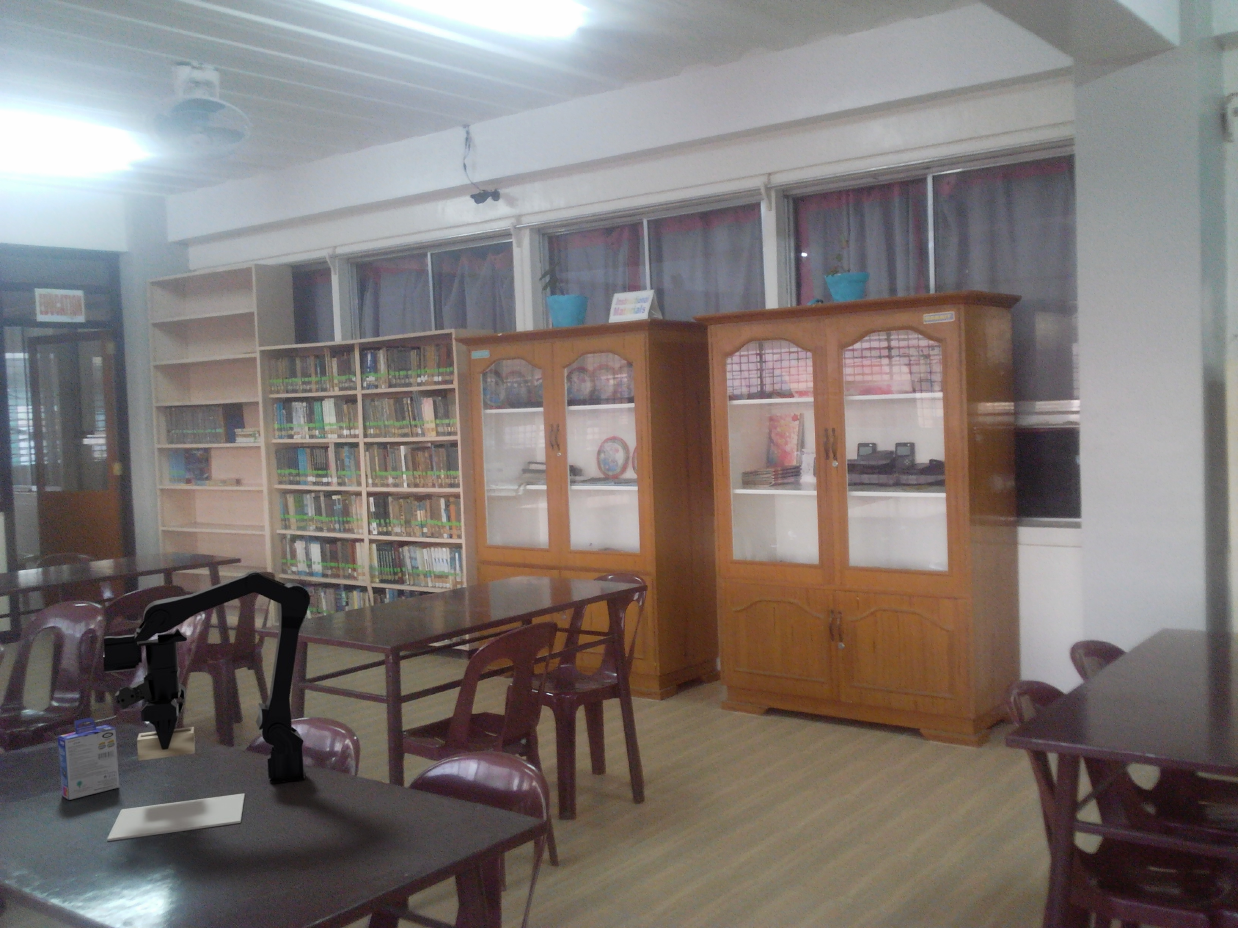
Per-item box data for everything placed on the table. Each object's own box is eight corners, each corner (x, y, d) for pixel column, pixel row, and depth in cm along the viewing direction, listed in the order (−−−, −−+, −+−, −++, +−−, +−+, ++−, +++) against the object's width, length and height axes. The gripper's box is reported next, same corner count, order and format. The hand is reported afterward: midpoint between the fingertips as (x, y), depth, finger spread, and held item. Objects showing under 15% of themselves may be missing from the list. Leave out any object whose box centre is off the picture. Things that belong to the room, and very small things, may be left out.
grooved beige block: (195, 746, 214) (193, 725, 214) (194, 753, 210) (193, 731, 210) (140, 753, 211) (138, 732, 211) (138, 760, 206) (136, 738, 206)
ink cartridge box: (111, 782, 222) (107, 712, 222) (121, 787, 218) (117, 716, 218) (59, 795, 215) (55, 723, 215) (69, 801, 211) (64, 727, 211)
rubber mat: (244, 795, 210) (244, 793, 210) (240, 822, 195) (240, 820, 195) (121, 811, 204) (121, 809, 204) (107, 840, 188) (107, 838, 188)
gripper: (124, 661, 217) (129, 738, 217) (109, 680, 199) (113, 764, 199) (184, 655, 220) (188, 731, 220) (174, 673, 202) (178, 756, 202)
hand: (166, 745), depth 210 cm, fingers closed on grooved beige block, 5 cm apart
